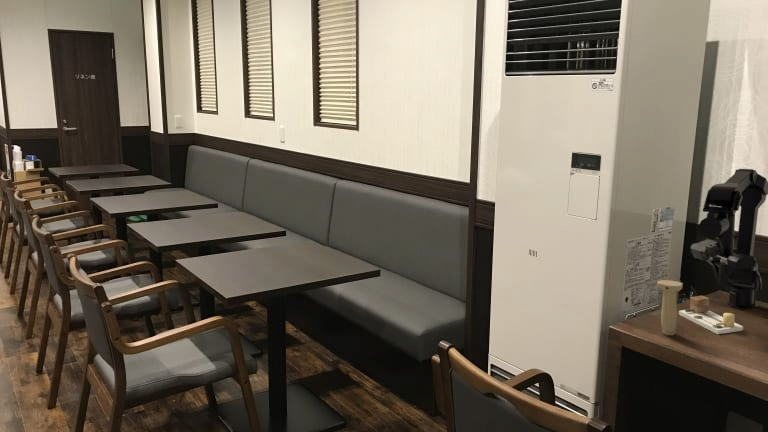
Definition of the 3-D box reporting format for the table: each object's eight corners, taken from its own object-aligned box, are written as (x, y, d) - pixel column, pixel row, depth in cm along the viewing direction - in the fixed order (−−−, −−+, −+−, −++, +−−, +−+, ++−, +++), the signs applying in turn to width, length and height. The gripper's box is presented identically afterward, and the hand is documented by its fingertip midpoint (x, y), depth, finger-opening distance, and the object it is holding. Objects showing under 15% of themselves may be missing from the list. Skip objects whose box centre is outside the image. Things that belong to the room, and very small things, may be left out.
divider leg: (701, 308, 185) (702, 295, 184) (708, 311, 182) (709, 298, 181) (682, 310, 184) (683, 298, 183) (689, 313, 181) (689, 301, 180)
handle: (678, 339, 168) (679, 287, 165) (653, 334, 172) (654, 283, 169) (683, 333, 171) (684, 282, 168) (659, 328, 175) (660, 279, 173)
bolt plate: (702, 311, 187) (702, 297, 186) (742, 330, 171) (743, 315, 170) (678, 314, 185) (679, 300, 184) (717, 334, 169) (718, 319, 168)
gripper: (674, 227, 176) (673, 278, 179) (722, 241, 158) (720, 298, 162) (708, 222, 179) (706, 273, 182) (759, 236, 161) (756, 292, 164)
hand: (720, 284), depth 172 cm, fingers closed
